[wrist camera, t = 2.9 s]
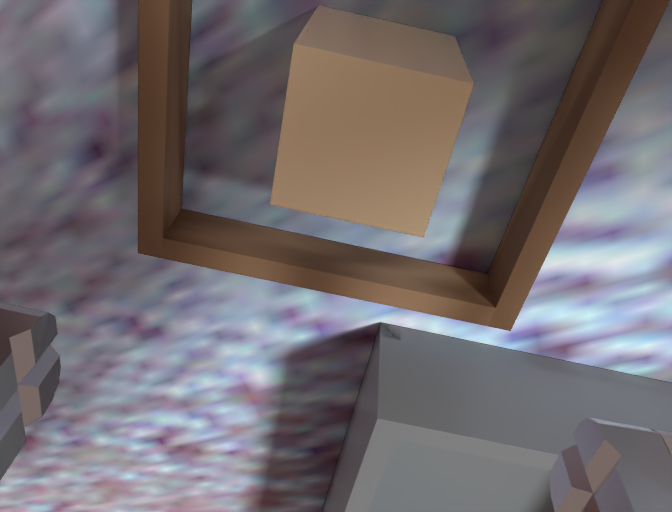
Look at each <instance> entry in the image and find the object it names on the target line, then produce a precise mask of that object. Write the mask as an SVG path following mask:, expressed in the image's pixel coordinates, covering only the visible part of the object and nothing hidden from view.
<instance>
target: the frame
mask: <svg viewBox="0 0 672 512" xmlns="http://www.w3.org/2000/svg"><path fill="white" fill-rule="evenodd" d="M669 1H670V0H603V1H602V4H601V6H600V8H599V11H598V13H597V15H596V18H595V20H594V23H593V25H592V27H591V30H590V32H589V34H588V37H587V39H586V42H585V44H584V46H583V49H582V51H581V53H580V56H579V58H578V60H577V63H576V65H575V68H574V70H573V72H572V75H571V77H570V79H569V82H568V84H567V87H566V89H565V91H564V94H563V96H562V98H561V101H560V103H559V106H558V108H557V110H556V113H555V115H554V117H553V120H552V122H551V125H550V127H549V129H548V132H547V134H546V136H545V139H544V141H543V144H542V146H541V148H540V151H539V153H538V155H537V158H536V160H535V163H534V165H533V167H532V170H531V172H530V174H529V177H528V179H527V181H526V184H525V186H524V189H523V191H522V193H521V196H520V198H519V200H518V203H517V205H516V208H515V210H514V212H513V215H512V217H511V219H510V222H509V224H508V227H507V229H506V231H505V234H504V236H503V238H502V241H501V243H500V246H499V248H498V250H497V253H496V255H495V257H494V260H493V262H492V265H491V267H490V269H489V272H488V274H486V273H481V272H476V271H471V270H467V269H462V268H457V267H453V266H448V265H443V264H438V263H434V262H429V261H424V260H420V259H415V258H410V257H405V256H401V255H396V254H391V253H387V252H382V251H377V250H372V249H368V248H363V247H358V246H354V245H349V244H344V243H339V242H335V241H330V240H325V239H320V238H316V237H311V236H306V235H302V234H297V233H292V232H287V231H283V230H278V229H273V228H269V227H264V226H259V225H254V224H250V223H245V222H240V221H236V220H231V219H226V218H221V217H217V216H212V215H207V214H203V213H198V212H193V211H188V210H184V209H182V190H183V170H184V150H185V130H186V110H187V90H188V70H189V50H190V30H191V10H192V0H138V253H140V254H144V255H149V256H154V257H159V258H164V259H168V260H173V261H178V262H183V263H188V264H192V265H197V266H202V267H207V268H212V269H216V270H221V271H226V272H231V273H235V274H240V275H245V276H250V277H255V278H259V279H264V280H269V281H274V282H279V283H283V284H288V285H293V286H298V287H303V288H307V289H312V290H317V291H322V292H327V293H331V294H336V295H341V296H346V297H350V298H355V299H360V300H365V301H370V302H374V303H379V304H384V305H389V306H394V307H398V308H403V309H408V310H413V311H418V312H422V313H427V314H432V315H437V316H442V317H446V318H451V319H456V320H461V321H465V322H470V323H475V324H480V325H485V326H489V327H494V328H499V329H504V330H509V331H511V329H512V327H513V325H514V323H515V320H516V318H517V316H518V314H519V312H520V310H521V308H522V306H523V304H524V302H525V300H526V298H527V296H528V293H529V291H530V289H531V287H532V285H533V283H534V281H535V279H536V277H537V275H538V273H539V271H540V269H541V266H542V264H543V262H544V260H545V258H546V256H547V254H548V252H549V250H550V248H551V246H552V244H553V242H554V240H555V237H556V235H557V233H558V231H559V229H560V227H561V225H562V223H563V221H564V219H565V217H566V215H567V213H568V210H569V208H570V206H571V204H572V202H573V200H574V198H575V196H576V194H577V192H578V190H579V188H580V186H581V183H582V181H583V179H584V177H585V175H586V173H587V171H588V169H589V167H590V165H591V163H592V161H593V159H594V157H595V154H596V152H597V150H598V148H599V146H600V144H601V142H602V140H603V138H604V136H605V134H606V132H607V130H608V127H609V125H610V123H611V121H612V119H613V117H614V115H615V113H616V111H617V109H618V107H619V105H620V103H621V101H622V98H623V96H624V94H625V92H626V90H627V88H628V86H629V84H630V82H631V80H632V78H633V76H634V74H635V71H636V69H637V67H638V65H639V63H640V61H641V59H642V57H643V55H644V53H645V51H646V49H647V47H648V44H649V42H650V40H651V38H652V36H653V34H654V32H655V30H656V28H657V26H658V24H659V22H660V20H661V18H662V15H663V13H664V11H665V9H666V7H667V5H668V3H669Z"/></svg>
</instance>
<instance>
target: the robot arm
mask: <svg viewBox="0 0 672 512" xmlns="http://www.w3.org/2000/svg"><path fill="white" fill-rule="evenodd" d="M56 335H57V327H56V320H55V316H53V315H51V314H50V313H47V312H43V311H38V310H34V309H29V308H24V307H20V306H15V305H11V304H6V303H2V302H0V480H1V479H2V477H3V476H4V474H5V473H6V471H7V469H8V468H9V466H10V465H11V463H12V462H13V460H14V459H15V457H16V456H17V454H18V453H19V451H20V450H21V448H22V447H23V445H24V444H25V442H26V438H25V431H24V426H26V425H28V424H30V423H31V422H33V421H35V420H37V419H39V418H41V417H42V416H43V414H44V413H45V411H46V409H47V408H48V406H49V405H50V403H51V401H52V399H53V396H54V393H55V391H56V388H57V385H58V383H59V376H60V368H61V367H60V356H59V354H58V353H57V352H56V351H55V350H54V349H53V348H52V346H51V345H50V343H51V342H52V341H53V339H54V338H55V336H56ZM573 435H574V438H575V441H576V444H575V445H573V446H571V447H569V448H567V449H565V450H563V451H561V452H560V454H559V456H558V458H557V459H556V461H555V463H554V465H553V468H552V474H551V479H550V490H551V499H552V503H553V507H554V510H555V512H672V432H666V431H661V430H655V429H647V428H643V427H638V426H632V425H627V424H622V423H616V422H611V421H605V420H600V419H595V418H589V417H588V418H586V419H584V420H583V421H581V422H580V423H579V424H578V426H577V427H576V429H575V430H574V432H573Z"/></svg>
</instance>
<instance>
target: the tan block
mask: <svg viewBox="0 0 672 512" xmlns="http://www.w3.org/2000/svg"><path fill="white" fill-rule="evenodd" d="M473 86H474V82H473V79H472V77H471V75H470V72H469V70H468V67H467V65H466V62H465V60H464V57H463V55H462V52H461V50H460V47H459V45H458V43H457V40H456V38H455V36H452V35H448V34H444V33H439V32H435V31H430V30H426V29H421V28H417V27H413V26H408V25H404V24H399V23H395V22H391V21H386V20H382V19H377V18H373V17H368V16H364V15H360V14H355V13H351V12H346V11H342V10H338V9H333V8H329V7H324V6H320V5H318V7H317V8H316V10H315V11H314V13H313V14H312V16H311V17H310V19H309V21H308V22H307V24H306V25H305V27H304V28H303V30H302V31H301V33H300V35H299V36H298V38H297V39H296V41H295V42H294V45H293V52H292V59H291V65H290V72H289V79H288V85H287V92H286V99H285V106H284V112H283V119H282V126H281V133H280V139H279V146H278V153H277V160H276V166H275V173H274V180H273V187H272V193H271V200H270V205H274V206H279V207H284V208H288V209H293V210H298V211H302V212H307V213H312V214H316V215H321V216H326V217H330V218H335V219H340V220H345V221H349V222H354V223H359V224H363V225H368V226H373V227H377V228H382V229H387V230H391V231H396V232H401V233H405V234H410V235H415V236H419V237H424V235H425V232H426V229H427V226H428V223H429V220H430V217H431V214H432V210H433V207H434V204H435V201H436V198H437V195H438V192H439V189H440V186H441V183H442V180H443V177H444V174H445V171H446V168H447V165H448V162H449V159H450V156H451V153H452V150H453V147H454V144H455V141H456V138H457V135H458V132H459V129H460V126H461V123H462V120H463V117H464V114H465V111H466V108H467V105H468V101H469V98H470V95H471V92H472V89H473Z"/></svg>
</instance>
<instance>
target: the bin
mask: <svg viewBox="0 0 672 512" xmlns="http://www.w3.org/2000/svg"><path fill="white" fill-rule="evenodd" d="M588 417H589V418H595V419H600V420H605V421H611V422H616V423H622V424H627V425H632V426H638V427H643V428H647V429H655V430H661V431H666V432H672V383H669V382H665V381H660V380H655V379H650V378H645V377H641V376H636V375H631V374H626V373H621V372H616V371H612V370H607V369H602V368H597V367H592V366H588V365H583V364H578V363H573V362H568V361H563V360H559V359H554V358H549V357H544V356H539V355H535V354H530V353H525V352H520V351H515V350H510V349H506V348H501V347H496V346H491V345H486V344H482V343H477V342H472V341H467V340H462V339H457V338H453V337H448V336H443V335H438V334H433V333H429V332H424V331H419V330H414V329H409V328H404V327H400V326H395V325H390V324H385V323H380V326H379V329H378V332H377V335H376V338H375V342H374V345H373V348H372V351H371V355H370V358H369V361H368V364H367V367H366V371H365V374H364V377H363V380H362V383H361V387H360V390H359V393H358V396H357V400H356V403H355V406H354V409H353V412H352V416H351V419H350V422H349V425H348V428H347V432H346V435H345V438H344V441H343V445H342V448H341V451H340V454H339V457H338V461H337V464H336V467H335V470H334V473H333V477H332V480H331V483H330V486H329V490H328V493H327V496H326V499H325V502H324V506H323V509H322V512H555V510H554V507H553V503H552V499H551V490H550V479H551V474H552V468H553V465H554V463H555V461H556V459H557V458H558V456H559V454H560V452H561V451H563V450H565V449H567V448H569V447H571V446H573V445H575V444H576V441H575V438H574V435H573V432H574V430H575V429H576V427H577V426H578V424H579V423H580V422H581V421H583V420H584V419H586V418H588Z"/></svg>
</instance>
